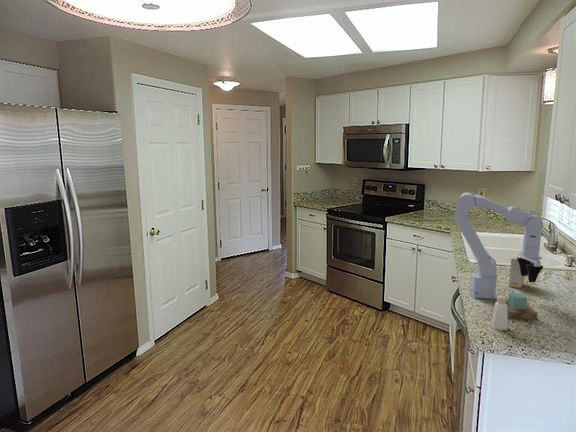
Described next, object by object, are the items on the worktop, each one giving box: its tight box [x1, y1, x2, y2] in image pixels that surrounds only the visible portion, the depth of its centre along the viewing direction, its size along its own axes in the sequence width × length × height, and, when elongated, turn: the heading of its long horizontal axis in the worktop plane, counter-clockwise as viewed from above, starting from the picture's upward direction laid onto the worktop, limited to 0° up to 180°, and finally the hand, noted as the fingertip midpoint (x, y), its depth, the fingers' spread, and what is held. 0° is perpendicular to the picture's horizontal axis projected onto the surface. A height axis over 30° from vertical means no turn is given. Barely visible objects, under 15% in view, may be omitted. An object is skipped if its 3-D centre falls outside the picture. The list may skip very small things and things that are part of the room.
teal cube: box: [508, 292, 528, 310], centre depth 149 cm, size 4×4×4 cm
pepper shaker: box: [490, 295, 509, 331], centre depth 138 cm, size 5×5×11 cm
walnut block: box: [505, 300, 538, 321], centre depth 150 cm, size 10×10×2 cm
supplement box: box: [508, 254, 525, 289], centre depth 178 cm, size 8×5×13 cm, turn 140°
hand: (527, 278), depth 159 cm, fingers open, 7 cm apart
